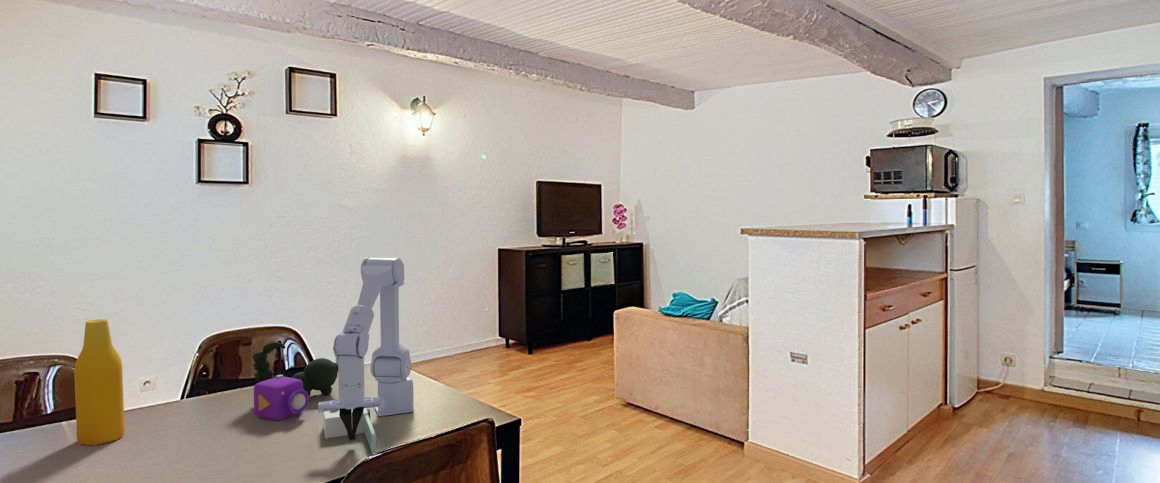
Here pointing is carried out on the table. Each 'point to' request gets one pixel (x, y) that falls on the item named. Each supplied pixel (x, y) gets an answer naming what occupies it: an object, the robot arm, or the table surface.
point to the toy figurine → (314, 376)
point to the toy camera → (279, 398)
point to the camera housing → (340, 424)
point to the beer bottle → (98, 387)
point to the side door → (370, 434)
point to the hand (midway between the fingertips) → (352, 438)
